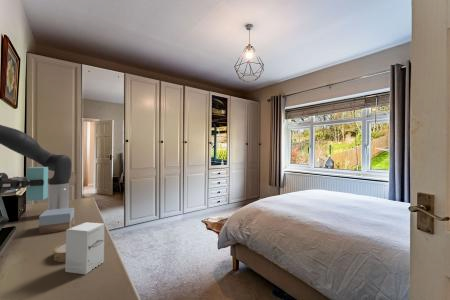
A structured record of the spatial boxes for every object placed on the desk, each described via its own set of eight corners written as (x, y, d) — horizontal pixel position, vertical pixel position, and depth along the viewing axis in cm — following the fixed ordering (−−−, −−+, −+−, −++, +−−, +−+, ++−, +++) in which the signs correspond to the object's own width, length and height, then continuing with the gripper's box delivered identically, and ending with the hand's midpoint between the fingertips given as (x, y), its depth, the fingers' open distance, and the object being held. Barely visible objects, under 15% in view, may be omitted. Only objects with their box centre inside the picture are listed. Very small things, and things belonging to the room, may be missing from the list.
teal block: (31, 198, 85) (32, 167, 85) (47, 197, 87) (48, 166, 87) (26, 200, 80) (26, 168, 80) (43, 199, 82) (43, 167, 82)
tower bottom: (47, 226, 104) (47, 218, 104) (75, 223, 109) (75, 215, 109) (38, 234, 94) (38, 225, 94) (69, 231, 98) (69, 222, 98)
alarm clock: (51, 245, 76) (99, 228, 86) (54, 258, 77) (102, 240, 86) (52, 257, 68) (106, 237, 77) (56, 272, 68) (108, 250, 78)
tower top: (46, 218, 103) (46, 210, 103) (74, 215, 108) (74, 207, 108) (39, 225, 94) (39, 216, 94) (70, 222, 99) (70, 213, 99)
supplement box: (85, 275, 63) (86, 231, 63) (64, 272, 65) (64, 229, 65) (104, 262, 70) (105, 223, 70) (85, 260, 72) (85, 221, 72)
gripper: (-27, 175, 71) (39, 173, 78) (-2, 171, 84) (52, 170, 91) (-27, 198, 71) (39, 194, 78) (-3, 190, 84) (52, 188, 91)
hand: (46, 181), depth 85 cm, fingers closed on teal block, 5 cm apart
